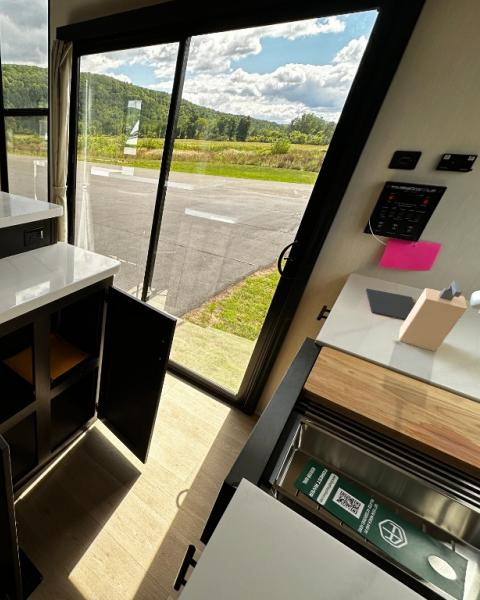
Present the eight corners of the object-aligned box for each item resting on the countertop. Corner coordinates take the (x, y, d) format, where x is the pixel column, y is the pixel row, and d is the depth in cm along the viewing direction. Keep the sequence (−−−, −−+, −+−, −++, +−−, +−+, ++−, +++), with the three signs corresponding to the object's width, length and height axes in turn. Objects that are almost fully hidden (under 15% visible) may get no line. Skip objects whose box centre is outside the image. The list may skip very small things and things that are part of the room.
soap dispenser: (399, 328, 109) (435, 271, 97) (434, 338, 104) (477, 279, 92) (398, 347, 101) (437, 287, 89) (435, 358, 96) (482, 297, 84)
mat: (411, 298, 124) (411, 296, 124) (423, 324, 110) (423, 322, 110) (366, 289, 131) (366, 288, 131) (371, 312, 117) (372, 311, 116)
